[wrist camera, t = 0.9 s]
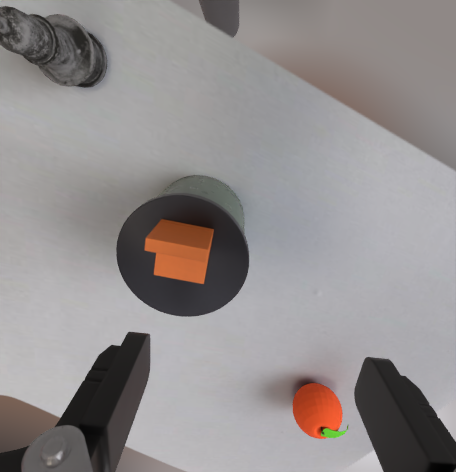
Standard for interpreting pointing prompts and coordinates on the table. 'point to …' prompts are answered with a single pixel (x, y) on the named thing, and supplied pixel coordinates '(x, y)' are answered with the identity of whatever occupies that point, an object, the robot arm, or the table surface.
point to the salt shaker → (54, 46)
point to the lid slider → (180, 250)
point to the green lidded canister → (220, 257)
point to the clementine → (318, 411)
